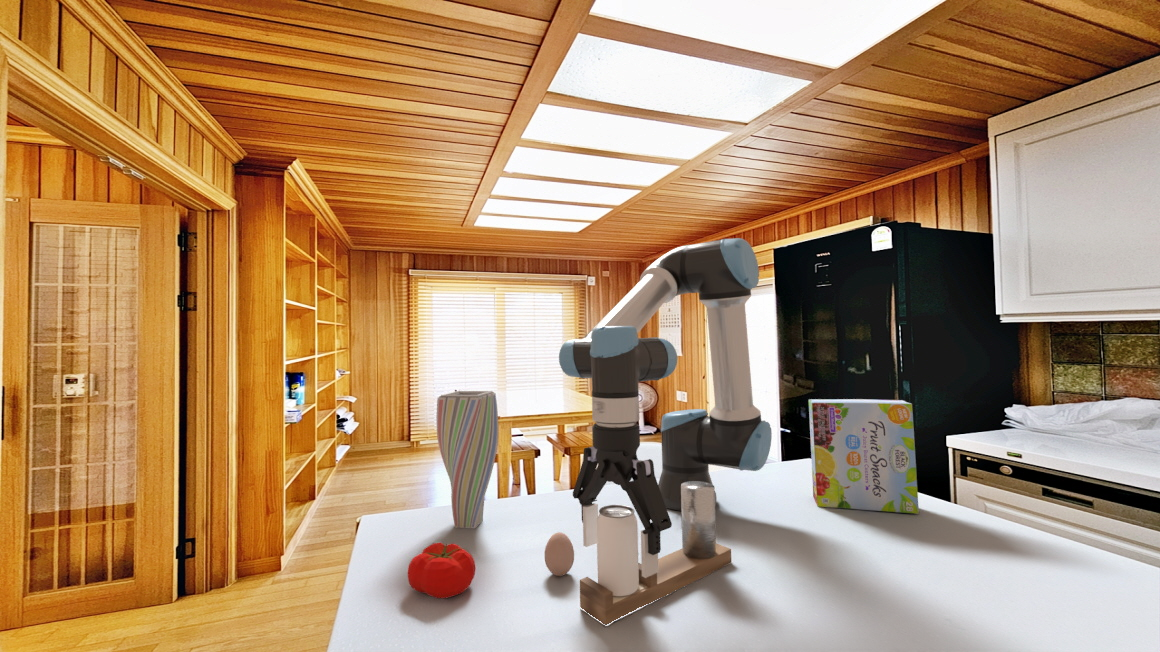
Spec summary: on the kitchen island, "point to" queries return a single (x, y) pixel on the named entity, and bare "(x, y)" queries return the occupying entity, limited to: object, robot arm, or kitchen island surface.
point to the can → (618, 550)
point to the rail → (650, 584)
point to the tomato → (441, 570)
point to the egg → (559, 554)
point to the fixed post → (698, 520)
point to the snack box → (863, 454)
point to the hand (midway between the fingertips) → (618, 558)
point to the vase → (468, 449)
